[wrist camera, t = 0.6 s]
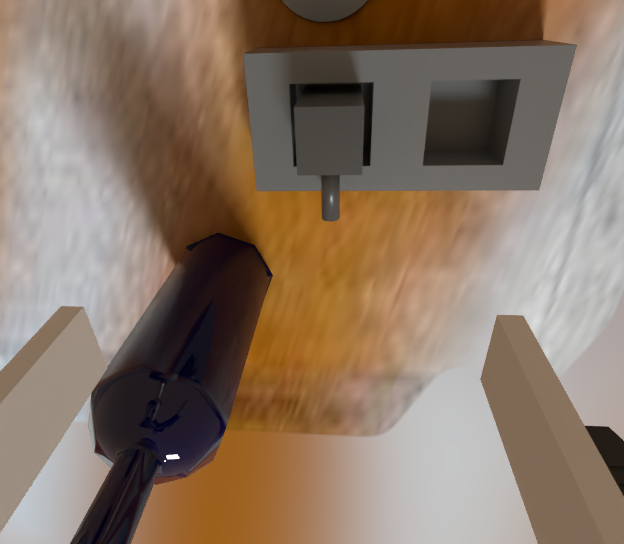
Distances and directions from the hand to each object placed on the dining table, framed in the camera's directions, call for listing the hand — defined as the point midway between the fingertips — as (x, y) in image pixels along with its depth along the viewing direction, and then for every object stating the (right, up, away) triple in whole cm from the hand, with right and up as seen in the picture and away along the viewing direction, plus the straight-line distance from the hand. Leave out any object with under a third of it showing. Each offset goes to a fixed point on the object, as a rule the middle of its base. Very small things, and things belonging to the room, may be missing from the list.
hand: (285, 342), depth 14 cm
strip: (+7, +15, +19) cm, 25 cm away
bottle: (-8, +2, +28) cm, 29 cm away
